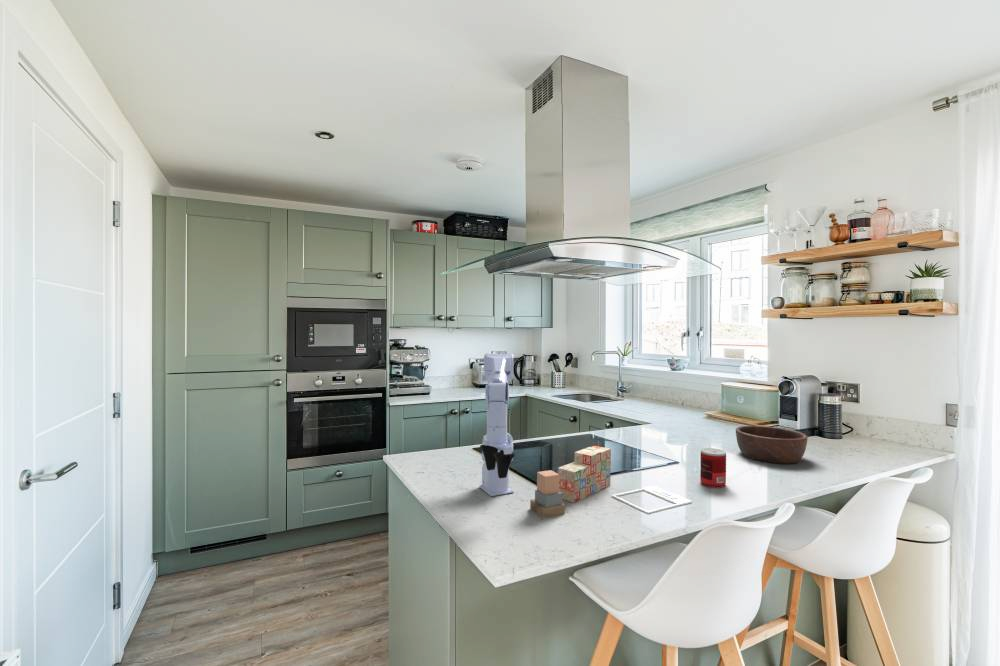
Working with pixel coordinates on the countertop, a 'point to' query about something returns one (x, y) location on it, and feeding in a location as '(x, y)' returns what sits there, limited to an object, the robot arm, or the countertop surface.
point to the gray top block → (548, 498)
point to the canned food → (713, 467)
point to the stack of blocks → (585, 473)
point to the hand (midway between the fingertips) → (496, 473)
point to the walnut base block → (547, 509)
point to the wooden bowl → (771, 444)
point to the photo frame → (659, 493)
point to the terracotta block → (548, 482)
